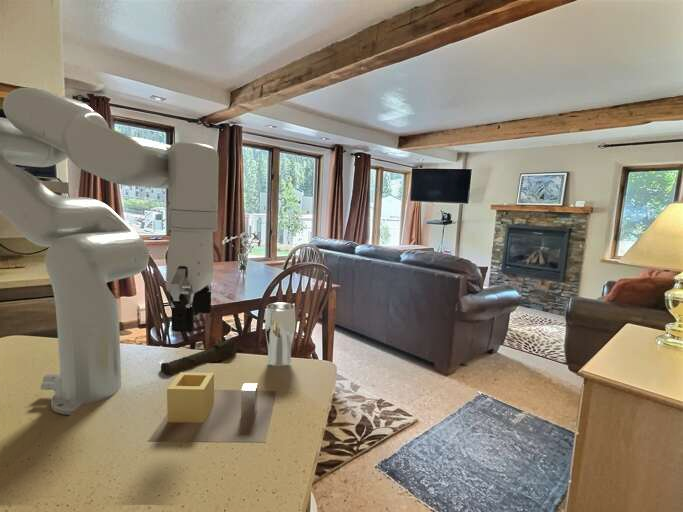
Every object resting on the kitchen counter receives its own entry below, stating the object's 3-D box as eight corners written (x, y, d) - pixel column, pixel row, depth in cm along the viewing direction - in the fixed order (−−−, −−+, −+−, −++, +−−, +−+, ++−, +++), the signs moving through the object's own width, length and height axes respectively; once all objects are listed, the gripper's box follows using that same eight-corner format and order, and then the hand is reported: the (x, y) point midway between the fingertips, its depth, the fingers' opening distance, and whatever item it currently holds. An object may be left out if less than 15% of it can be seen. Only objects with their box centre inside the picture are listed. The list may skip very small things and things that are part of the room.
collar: (167, 422, 62) (166, 388, 61) (180, 402, 68) (180, 372, 67) (203, 422, 62) (203, 389, 61) (213, 403, 68) (214, 372, 67)
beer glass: (267, 375, 83) (269, 311, 81) (261, 362, 89) (262, 303, 87) (297, 371, 86) (299, 309, 84) (289, 359, 92) (291, 301, 90)
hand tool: (168, 384, 77) (168, 363, 77) (159, 378, 80) (159, 357, 79) (243, 358, 92) (243, 340, 92) (233, 353, 95) (233, 336, 94)
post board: (147, 450, 57) (146, 411, 56) (185, 396, 73) (184, 365, 72) (264, 450, 58) (265, 412, 57) (276, 397, 74) (277, 367, 73)
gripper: (188, 217, 68) (187, 306, 71) (146, 223, 51) (147, 339, 54) (229, 220, 69) (227, 307, 72) (200, 226, 52) (199, 341, 55)
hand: (192, 321), depth 63 cm, fingers open, 9 cm apart
